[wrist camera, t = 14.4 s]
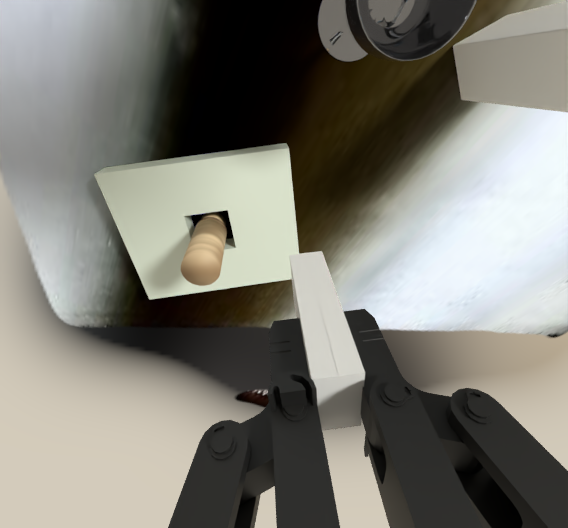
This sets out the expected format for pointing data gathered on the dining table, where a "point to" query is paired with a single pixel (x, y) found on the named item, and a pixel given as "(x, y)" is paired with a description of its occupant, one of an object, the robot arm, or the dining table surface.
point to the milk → (518, 60)
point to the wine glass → (389, 27)
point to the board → (204, 199)
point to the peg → (205, 250)
